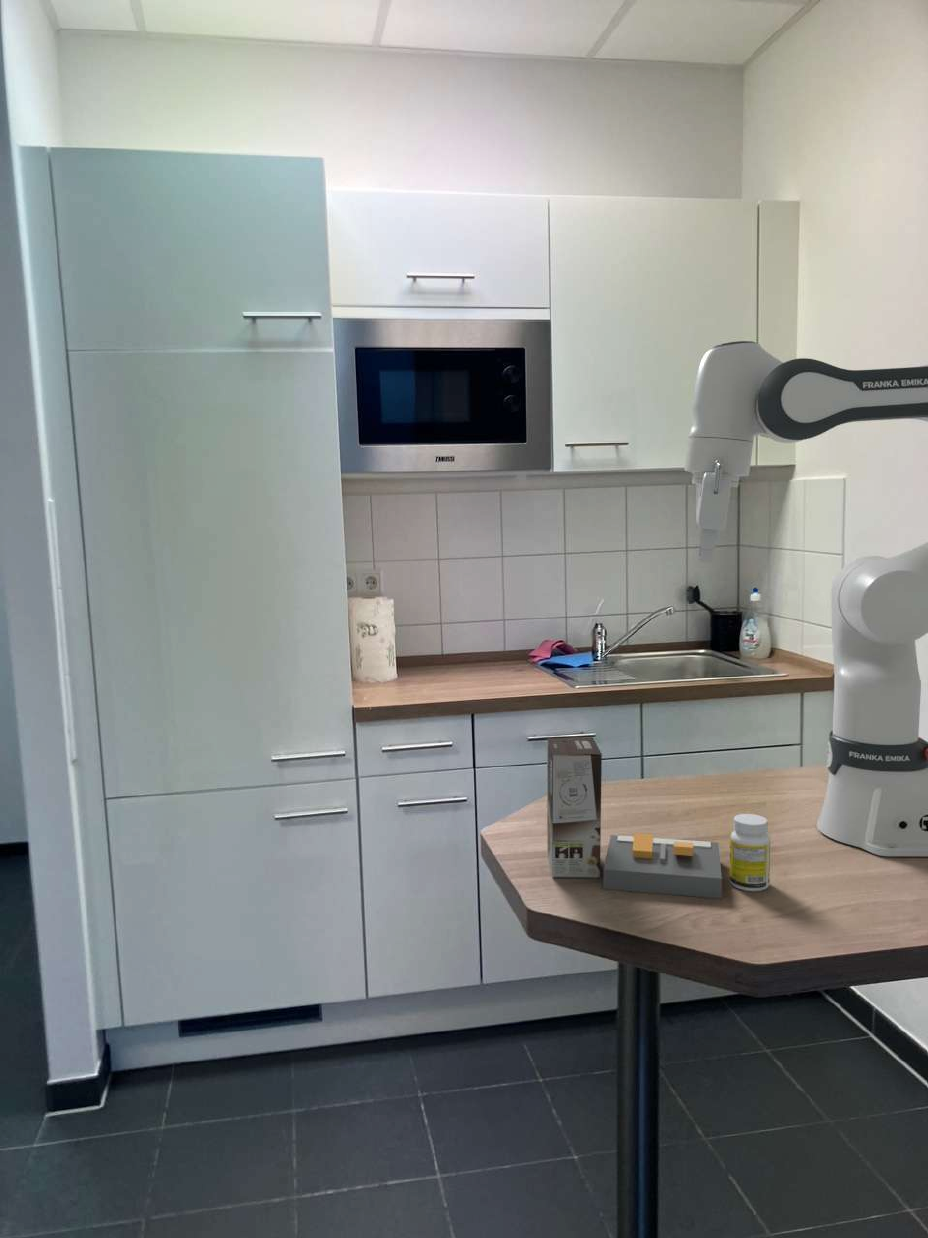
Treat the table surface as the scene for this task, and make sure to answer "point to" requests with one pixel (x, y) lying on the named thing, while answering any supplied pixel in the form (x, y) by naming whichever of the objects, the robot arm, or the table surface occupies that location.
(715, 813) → the table surface
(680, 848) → the orange rectangular block
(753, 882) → the supplement bottle
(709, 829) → the table surface
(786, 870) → the table surface
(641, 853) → the paddle
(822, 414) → the robot arm
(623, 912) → the table surface
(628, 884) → the switch strip
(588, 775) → the coffee box
